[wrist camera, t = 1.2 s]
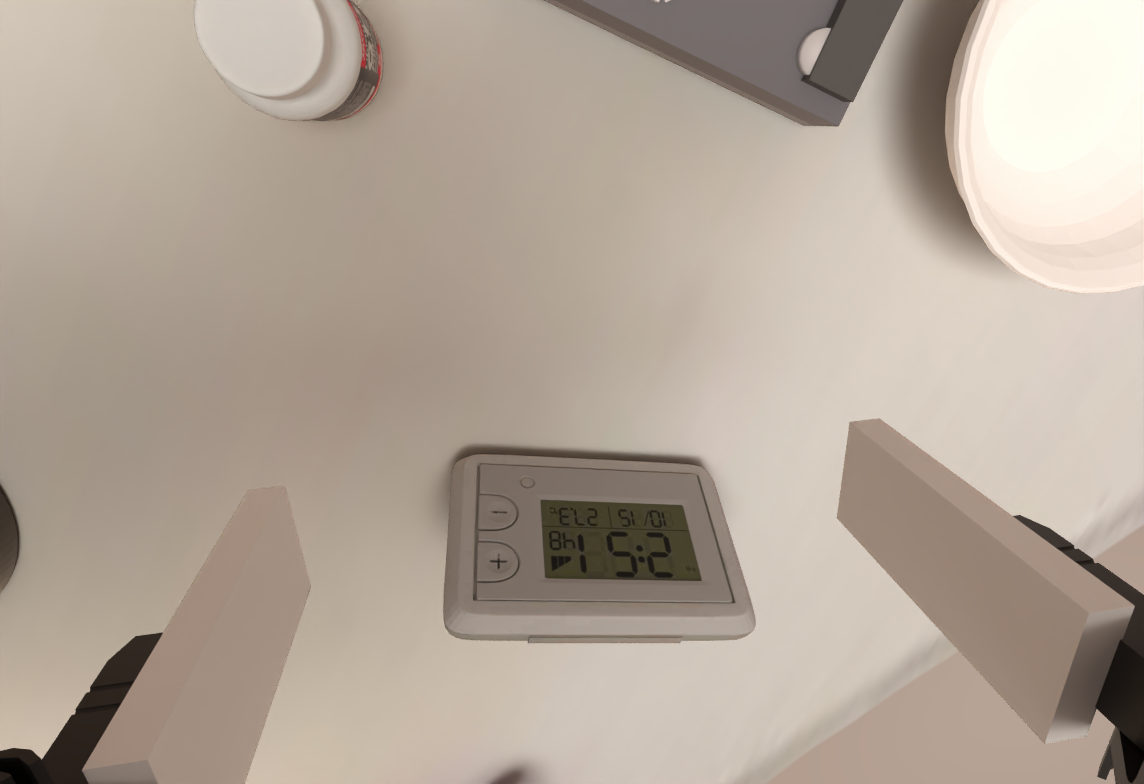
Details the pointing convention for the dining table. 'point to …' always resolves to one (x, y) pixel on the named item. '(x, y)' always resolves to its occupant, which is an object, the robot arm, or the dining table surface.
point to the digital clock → (590, 553)
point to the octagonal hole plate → (759, 45)
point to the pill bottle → (293, 55)
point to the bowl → (1053, 138)
